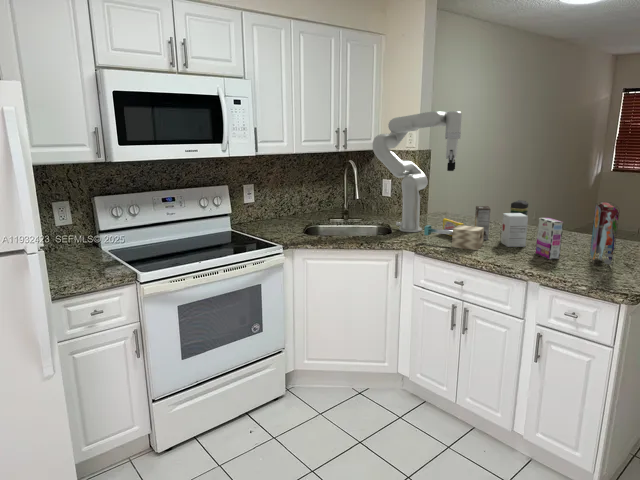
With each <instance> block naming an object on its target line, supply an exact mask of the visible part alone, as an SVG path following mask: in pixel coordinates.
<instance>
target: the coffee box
mask: <svg viewBox="0 0 640 480" xmlns="http://www.w3.org/2000/svg"><path fill="white" fill-rule="evenodd" d="M474 215H475V216H474V227H484V235H483V241H484V240H487V241H488V240H489V236H490V234H489V233H490V221H491V220H490V219H491V208H490V207H489V206H488V205H475V214H474Z"/></svg>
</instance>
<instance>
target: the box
mask: <svg viewBox="0 0 640 480" xmlns="http://www.w3.org/2000/svg"><path fill="white" fill-rule="evenodd" d="M598 203H599V205H598ZM598 203H596V204H595V207H594V217H593V225H592V231H591V232H592V233H591V241H590V248H589V249H590V250H589V254H590V258H591V262H592V265H593V267H596V266H600V267H601V265H599V264H598V262H597V260H599V261H601V262H602V261H603V260H604V264H607V265H609V266H608V267H607V266H606V267H605V266H604V265H602V268H604V270H605V269H611V270H612V269H613V266H614V263H613V260H614V258H615V256H614V253H615V251H616V248H615V246H616V244H617V243H616V241H617V238H616V237H617V235H618V233H617V232H618V226H619V225H618V221H619V216H620V208H619V207H617V205H615V204H614V203H612V202H603V201H600V202H598ZM610 208H611V209H610ZM617 208H618V209H617ZM614 218H615V220H614ZM613 231H614V232H613ZM614 234H615V235H614ZM604 250H605V251H606V253H605V254H604ZM596 254H598V257H596ZM603 255H604V256H605V257H606V259H603ZM593 260H594V261H593ZM594 262H595V263H594ZM595 264H596V265H595ZM610 265H611V266H612V267H610ZM609 267H610V268H609Z"/></svg>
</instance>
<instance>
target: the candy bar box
mask: <svg viewBox="0 0 640 480" xmlns="http://www.w3.org/2000/svg"><path fill="white" fill-rule="evenodd" d="M563 227H564V221H561V220H557V219H554V218H551V217H539V218H538V225H537V235H536V245H535V254H536V255H538V256H540V257H543V258H545V259H547V260H560V257H561V249H562V248H561V247H562V239H563V231H564V228H563Z"/></svg>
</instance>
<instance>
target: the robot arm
mask: <svg viewBox="0 0 640 480" xmlns="http://www.w3.org/2000/svg"><path fill="white" fill-rule="evenodd" d="M462 117H463V116H462V112H461V111H459V110H452V111H442V110H441V111H440V110H437V111H436V110H434V111H433V110H432V111H427V112H426V111H425V112H421V113H416V114H408V115H403V116H398V117H394V118H391V119H390V120H389V121H388V123H387V125H388V127H387V128H388V130H389V132H390V133H380V134H377V135H376V136H375V137H374V138H373V141H372V151H373V153H374V155H375V156H376V158H377V159H378V160H379V161H380V162H381V163H382V164H383V165H384V166H385V167H386V169H387V170H389V172H390V173H391V174H392V175H393V176H394V177H395V178H398V179H399V178H402V180H401V185H400V186H401V191H402V192H401V193H402V216H401V217H402V219H401V221H396V222H395V225H396V226H397V227H399V229H398V230H399V231H400V232H404V233H419V232H421V231H422V230H423V229H422V227H421V226H420V212H421V210H420V209H421V196H420V191H422V190H424V189H426V187H427V186H428V184H429V183H428V182H429V181H428V177H427V175H426V174H425V173H424V172H423V171H422V170H421V169H420V167H418V166H417V165H416V164H415V163H414V162H413V161H411V160H408V159H401V158H400V157H399V156H398V155H397V154H396V153H395V152H394V151H392V149H395V148H396V147H398V146H399V145H400V143H401V141H403V139H404V138H405V137H406V136H407V135H408V133H409V132H417V131H418V130H419V129H422V128H423V129H424V128H433V127H445V131H444V132H445V135H444V140H446V145H445V147H446V149H445V160H446V159H447V169H446V170H447V171H448V172H454V171H455V169H456V158H457V154H458V146H459V145H458V144H459V140H461V135H462V134H461V132H462V119H463V118H462ZM390 149H391V150H390Z"/></svg>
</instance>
